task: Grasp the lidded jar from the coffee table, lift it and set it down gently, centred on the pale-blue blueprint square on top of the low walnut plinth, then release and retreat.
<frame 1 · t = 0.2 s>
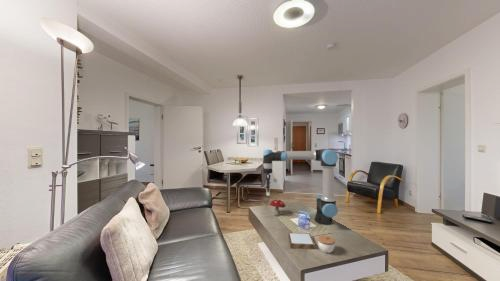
hand: (268, 193, 166), 28 cm above the table, fingers open, 13 cm apart
lidded jar: (326, 250, 130), on the table
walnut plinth: (300, 242, 140), on the table
decorative mushroom: (277, 215, 191), on the table
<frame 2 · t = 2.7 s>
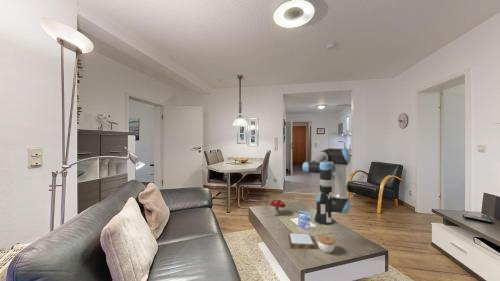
hand: (325, 217, 130), 22 cm above the table, fingers open, 13 cm apart
nothing on the table moved.
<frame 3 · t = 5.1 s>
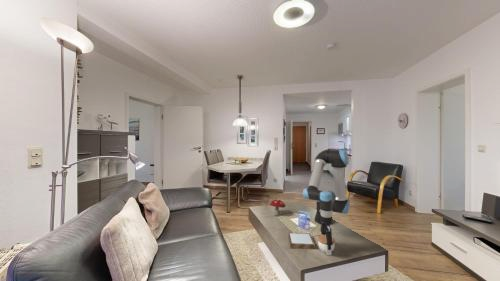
hand: (326, 249, 130), 1 cm above the table, fingers closed on lidded jar, 11 cm apart
lidded jar: (326, 250, 130), on the table, touching gripper
everything else where it was.
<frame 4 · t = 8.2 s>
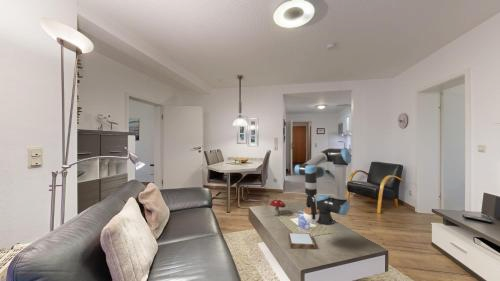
hand: (311, 220, 136), 18 cm above the table, fingers closed on lidded jar, 11 cm apart
lidded jar: (311, 221, 136), point 17 cm above the table, touching gripper
everything else where it was.
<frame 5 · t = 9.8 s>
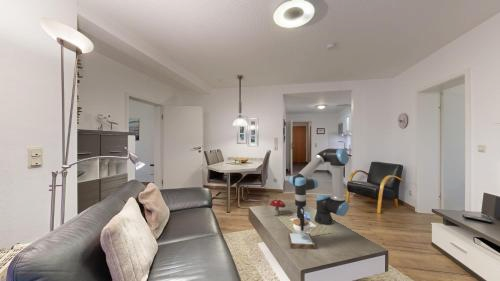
hand: (300, 230, 140), 8 cm above the table, fingers closed on lidded jar, 11 cm apart
lidded jar: (300, 232, 140), point 7 cm above the table, touching gripper
everything else where it was.
when the fingers open (5 cm above the table, at t = 11.3 s): lidded jar drops 1 cm, resting on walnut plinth.
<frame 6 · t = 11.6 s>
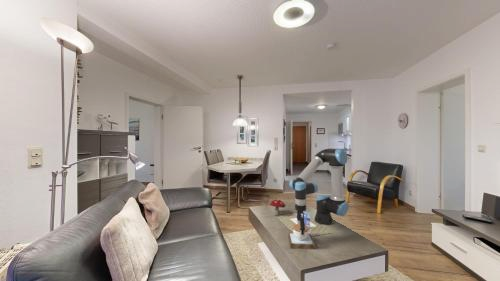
hand: (300, 234, 140), 6 cm above the table, fingers open, 13 cm apart
lidded jar: (300, 238, 140), point 3 cm above the table, touching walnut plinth
everything else where it was.
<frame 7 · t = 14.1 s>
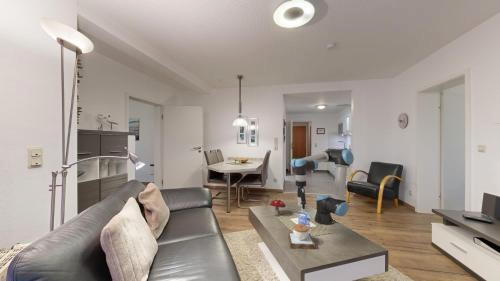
hand: (301, 209, 144), 22 cm above the table, fingers open, 13 cm apart
nothing on the table moved.
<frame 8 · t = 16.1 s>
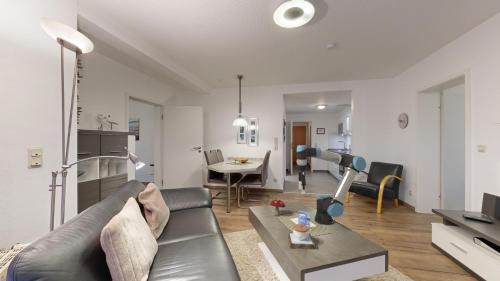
hand: (301, 191, 158), 32 cm above the table, fingers open, 13 cm apart
nothing on the table moved.
at the end: lidded jar 0.2 cm off-centre on the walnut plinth, point 2.8 cm above the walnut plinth's base; lidded jar tilted 0°; the gripper is holding nothing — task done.
